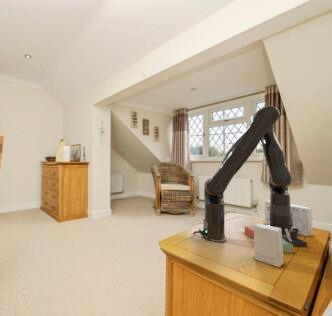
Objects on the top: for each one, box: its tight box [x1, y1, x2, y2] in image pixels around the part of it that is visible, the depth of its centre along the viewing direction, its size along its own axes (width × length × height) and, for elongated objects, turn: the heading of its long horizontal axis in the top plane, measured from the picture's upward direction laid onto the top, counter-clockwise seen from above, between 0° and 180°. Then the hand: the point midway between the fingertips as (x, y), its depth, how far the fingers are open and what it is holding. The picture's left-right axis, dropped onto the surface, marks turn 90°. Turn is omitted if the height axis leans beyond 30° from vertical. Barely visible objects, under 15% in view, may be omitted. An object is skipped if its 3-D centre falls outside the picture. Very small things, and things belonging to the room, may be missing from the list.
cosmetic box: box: [252, 223, 284, 268], centre depth 82 cm, size 8×6×15 cm
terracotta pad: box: [244, 225, 254, 239], centre depth 110 cm, size 6×8×4 cm
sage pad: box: [282, 239, 294, 254], centre depth 94 cm, size 6×8×4 cm
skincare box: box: [264, 199, 313, 237], centre depth 119 cm, size 21×5×16 cm, turn 17°
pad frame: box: [282, 235, 308, 248], centre depth 106 cm, size 12×19×2 cm, turn 170°
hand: (280, 247), depth 94 cm, fingers closed on sage pad, 5 cm apart
